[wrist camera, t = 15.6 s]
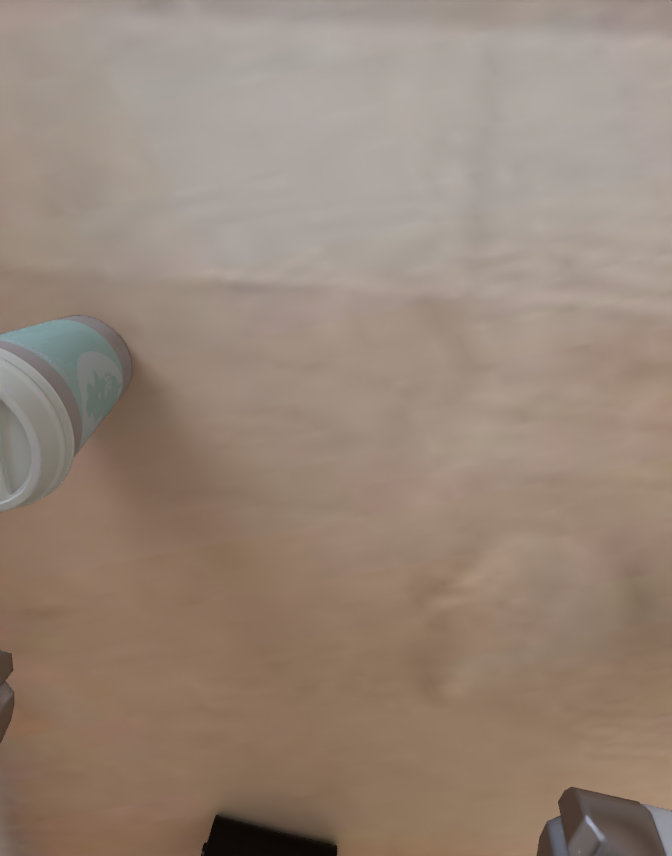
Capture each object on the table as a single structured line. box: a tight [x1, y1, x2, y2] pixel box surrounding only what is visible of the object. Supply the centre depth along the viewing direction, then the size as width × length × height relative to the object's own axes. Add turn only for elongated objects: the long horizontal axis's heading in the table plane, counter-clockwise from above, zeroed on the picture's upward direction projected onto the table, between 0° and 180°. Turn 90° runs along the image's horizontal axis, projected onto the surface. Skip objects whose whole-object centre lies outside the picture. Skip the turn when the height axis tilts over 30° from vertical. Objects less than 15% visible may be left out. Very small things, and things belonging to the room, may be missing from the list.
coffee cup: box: [0, 316, 132, 512], centre depth 34 cm, size 8×8×12 cm
